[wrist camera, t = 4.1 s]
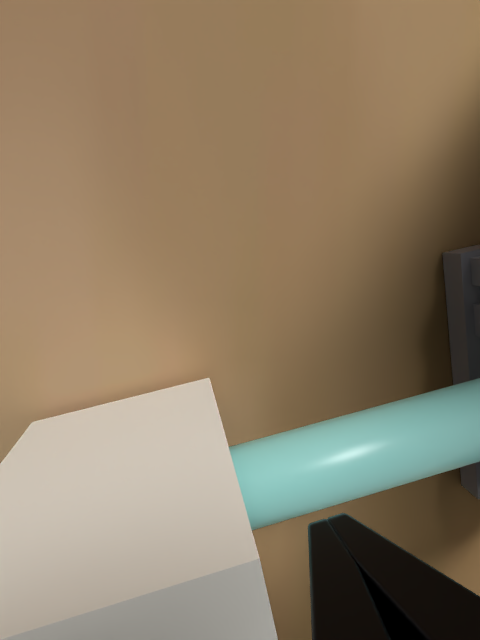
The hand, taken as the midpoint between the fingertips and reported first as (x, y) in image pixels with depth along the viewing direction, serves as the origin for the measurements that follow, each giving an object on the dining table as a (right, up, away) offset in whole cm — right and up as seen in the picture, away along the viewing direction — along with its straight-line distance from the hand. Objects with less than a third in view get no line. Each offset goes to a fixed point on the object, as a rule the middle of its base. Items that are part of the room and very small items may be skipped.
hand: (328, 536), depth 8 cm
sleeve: (-5, 0, +4) cm, 6 cm away
